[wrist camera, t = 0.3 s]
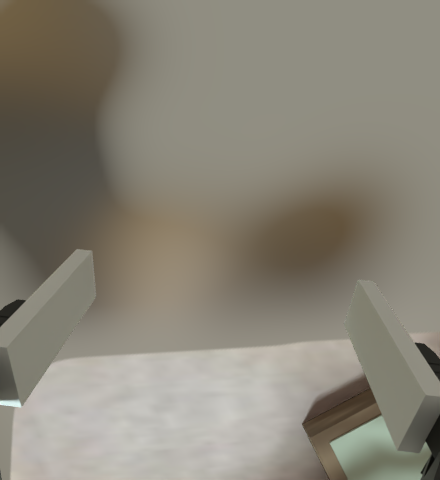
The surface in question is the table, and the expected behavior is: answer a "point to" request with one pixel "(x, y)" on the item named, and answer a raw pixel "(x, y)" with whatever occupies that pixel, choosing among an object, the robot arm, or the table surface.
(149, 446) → the table surface
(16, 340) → the robot arm
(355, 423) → the walnut plinth
